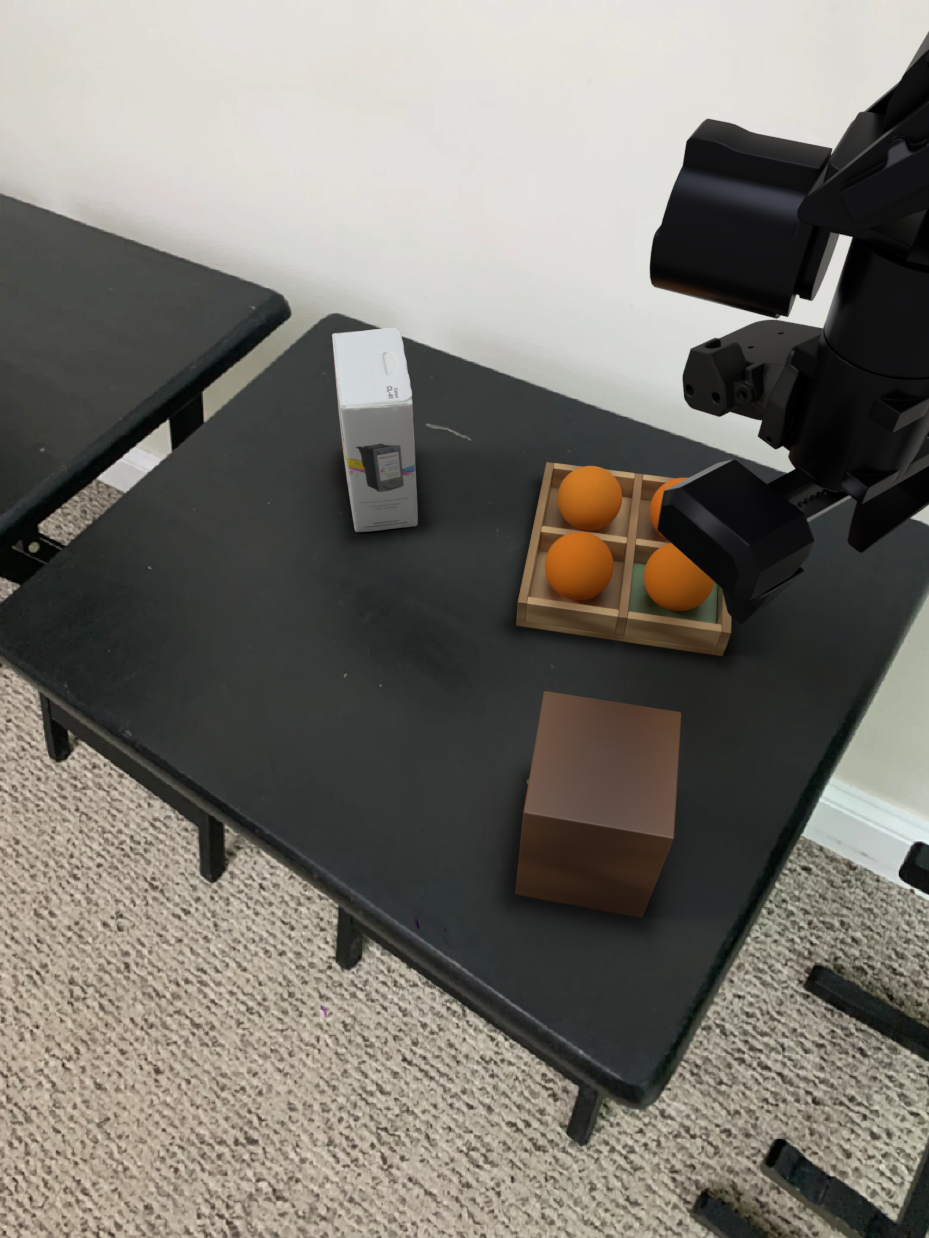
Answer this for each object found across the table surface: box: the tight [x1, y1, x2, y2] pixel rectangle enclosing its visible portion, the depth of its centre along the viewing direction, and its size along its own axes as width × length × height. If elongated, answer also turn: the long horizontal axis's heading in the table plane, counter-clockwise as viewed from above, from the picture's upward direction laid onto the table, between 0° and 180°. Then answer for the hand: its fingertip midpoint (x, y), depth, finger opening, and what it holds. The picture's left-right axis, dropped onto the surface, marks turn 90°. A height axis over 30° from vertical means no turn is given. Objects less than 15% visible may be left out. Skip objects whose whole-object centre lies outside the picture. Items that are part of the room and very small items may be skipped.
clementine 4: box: [644, 543, 714, 611], centre depth 61 cm, size 5×5×5 cm
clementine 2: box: [545, 532, 614, 600], centre depth 62 cm, size 5×5×5 cm
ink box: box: [331, 327, 419, 533], centre depth 66 cm, size 9×5×12 cm, turn 9°
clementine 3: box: [650, 477, 689, 539], centre depth 65 cm, size 5×5×5 cm
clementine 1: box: [557, 465, 622, 531], centre depth 66 cm, size 5×5×5 cm
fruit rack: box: [515, 461, 732, 657], centre depth 65 cm, size 14×14×3 cm
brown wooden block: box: [515, 690, 682, 919], centre depth 49 cm, size 7×7×10 cm
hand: (797, 581), depth 51 cm, fingers open, 9 cm apart
